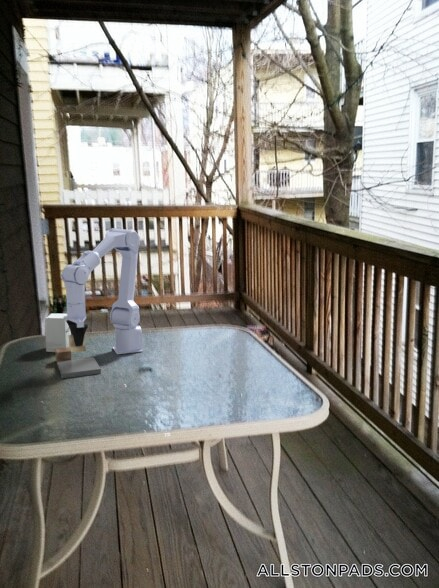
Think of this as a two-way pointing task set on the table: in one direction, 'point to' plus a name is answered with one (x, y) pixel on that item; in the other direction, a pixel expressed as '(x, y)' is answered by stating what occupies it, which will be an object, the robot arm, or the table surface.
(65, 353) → the walnut block
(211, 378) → the table surface
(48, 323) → the supplement box
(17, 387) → the table surface
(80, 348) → the maple block
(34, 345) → the table surface
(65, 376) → the plate
